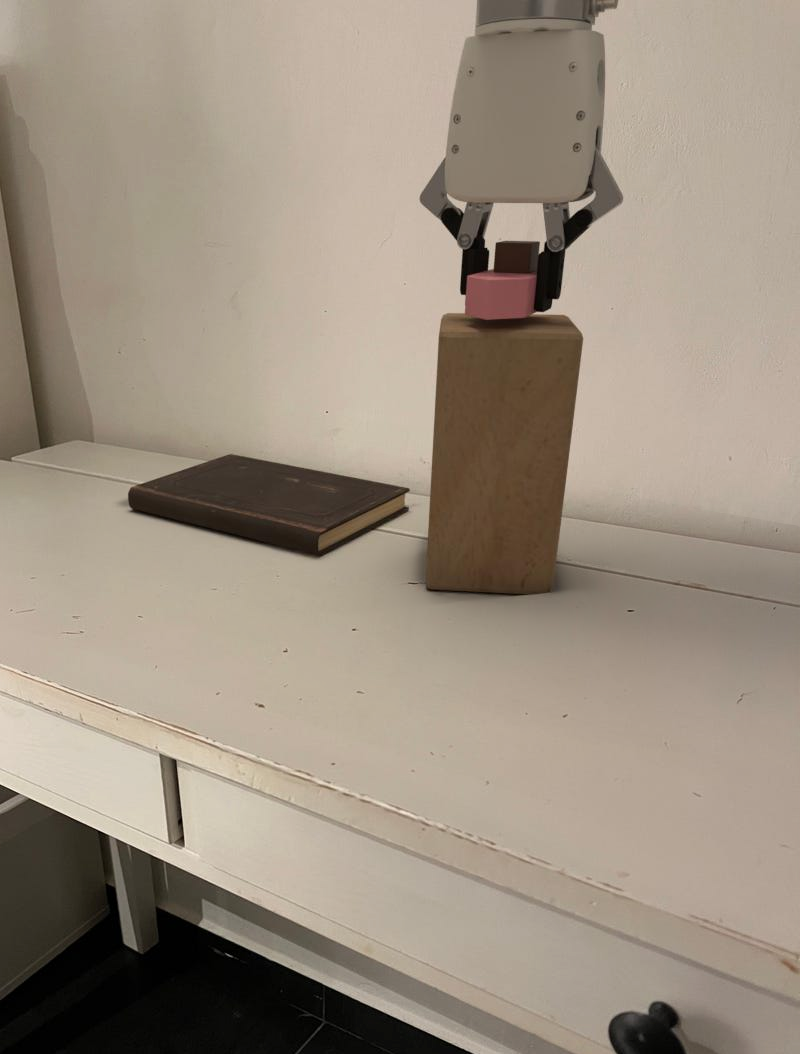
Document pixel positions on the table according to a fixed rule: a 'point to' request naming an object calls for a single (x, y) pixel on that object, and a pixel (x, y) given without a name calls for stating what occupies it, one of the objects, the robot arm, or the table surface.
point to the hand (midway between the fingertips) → (508, 305)
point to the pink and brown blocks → (505, 283)
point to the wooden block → (500, 451)
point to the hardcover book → (272, 502)
